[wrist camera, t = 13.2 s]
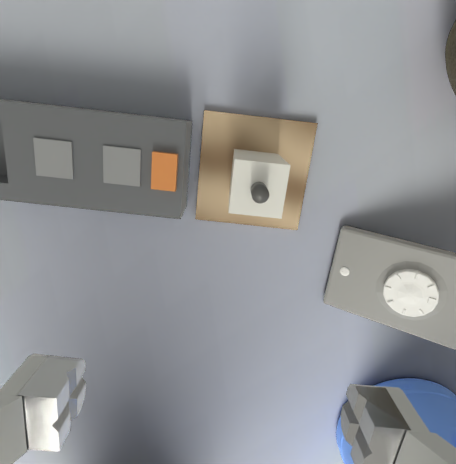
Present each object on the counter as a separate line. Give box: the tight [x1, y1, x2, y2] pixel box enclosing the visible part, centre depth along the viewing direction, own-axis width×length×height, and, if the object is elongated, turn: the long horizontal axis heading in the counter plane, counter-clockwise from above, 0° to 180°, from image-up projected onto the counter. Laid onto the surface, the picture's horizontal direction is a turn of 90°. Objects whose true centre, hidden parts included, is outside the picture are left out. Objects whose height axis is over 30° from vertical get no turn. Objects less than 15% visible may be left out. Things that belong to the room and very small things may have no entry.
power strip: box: [0, 99, 192, 219], centre depth 29 cm, size 8×28×5 cm, turn 84°
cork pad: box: [195, 110, 318, 230], centre depth 31 cm, size 10×10×1 cm
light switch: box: [323, 225, 456, 350], centre depth 32 cm, size 8×6×14 cm
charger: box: [228, 149, 291, 219], centre depth 27 cm, size 4×4×9 cm
